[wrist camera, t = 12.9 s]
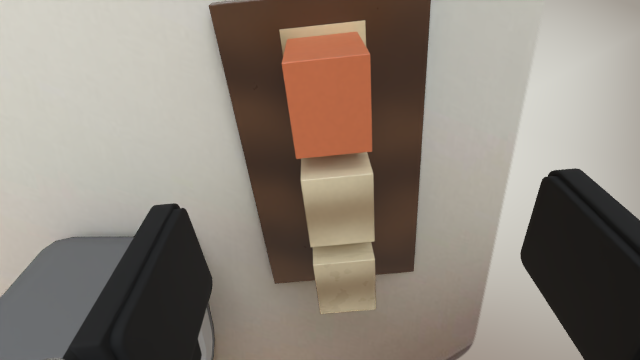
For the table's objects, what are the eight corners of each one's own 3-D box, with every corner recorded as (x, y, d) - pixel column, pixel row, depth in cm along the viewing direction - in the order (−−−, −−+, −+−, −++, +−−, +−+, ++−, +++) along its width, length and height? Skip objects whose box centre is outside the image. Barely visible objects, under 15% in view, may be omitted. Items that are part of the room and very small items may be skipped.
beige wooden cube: (312, 216, 28) (312, 265, 23) (364, 211, 27) (375, 259, 23) (318, 263, 30) (320, 314, 26) (366, 259, 30) (376, 309, 26)
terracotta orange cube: (286, 39, 21) (281, 62, 16) (357, 31, 20) (370, 53, 16) (298, 120, 23) (295, 159, 19) (360, 114, 23) (372, 151, 19)
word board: (212, 2, 20) (207, 5, 19) (427, -22, 20) (432, -20, 19) (275, 275, 32) (274, 284, 31) (411, 263, 32) (414, 272, 31)
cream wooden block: (301, 139, 24) (300, 180, 20) (362, 133, 24) (373, 173, 20) (309, 200, 27) (310, 247, 23) (364, 195, 27) (374, 241, 22)
